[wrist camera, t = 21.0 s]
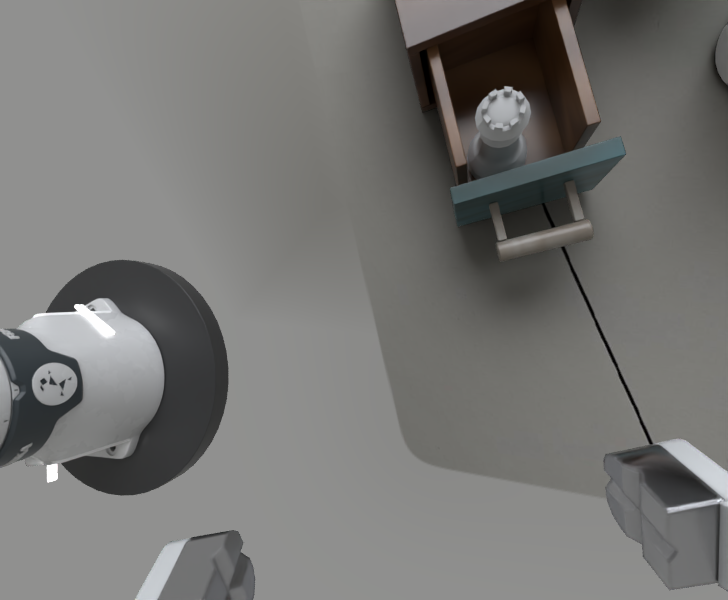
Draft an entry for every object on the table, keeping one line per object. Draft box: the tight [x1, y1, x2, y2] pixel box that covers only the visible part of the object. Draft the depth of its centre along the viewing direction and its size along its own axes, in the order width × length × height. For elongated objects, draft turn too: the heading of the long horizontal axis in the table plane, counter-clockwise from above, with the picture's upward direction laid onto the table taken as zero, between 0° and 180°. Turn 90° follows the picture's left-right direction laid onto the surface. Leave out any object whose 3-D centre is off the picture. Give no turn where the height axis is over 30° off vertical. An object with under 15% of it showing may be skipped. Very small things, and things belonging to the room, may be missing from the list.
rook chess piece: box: [467, 86, 531, 180], centre depth 27 cm, size 4×4×8 cm
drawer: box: [425, 0, 626, 262], centre depth 28 cm, size 18×10×7 cm, turn 14°
